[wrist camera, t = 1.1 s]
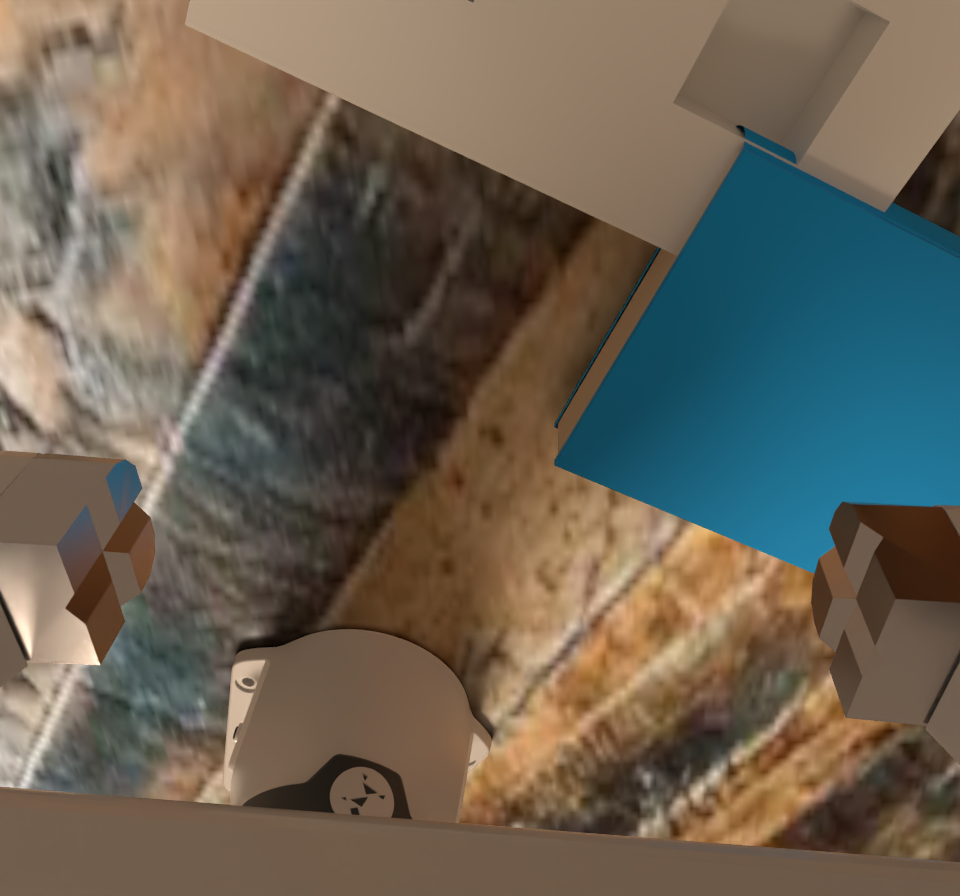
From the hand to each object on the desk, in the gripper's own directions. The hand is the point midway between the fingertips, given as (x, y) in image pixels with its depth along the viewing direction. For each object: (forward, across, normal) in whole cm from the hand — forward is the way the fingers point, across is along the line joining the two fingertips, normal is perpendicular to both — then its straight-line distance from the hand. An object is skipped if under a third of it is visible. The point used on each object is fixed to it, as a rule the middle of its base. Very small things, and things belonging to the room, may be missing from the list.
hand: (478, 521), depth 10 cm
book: (+30, -17, +15) cm, 37 cm away
